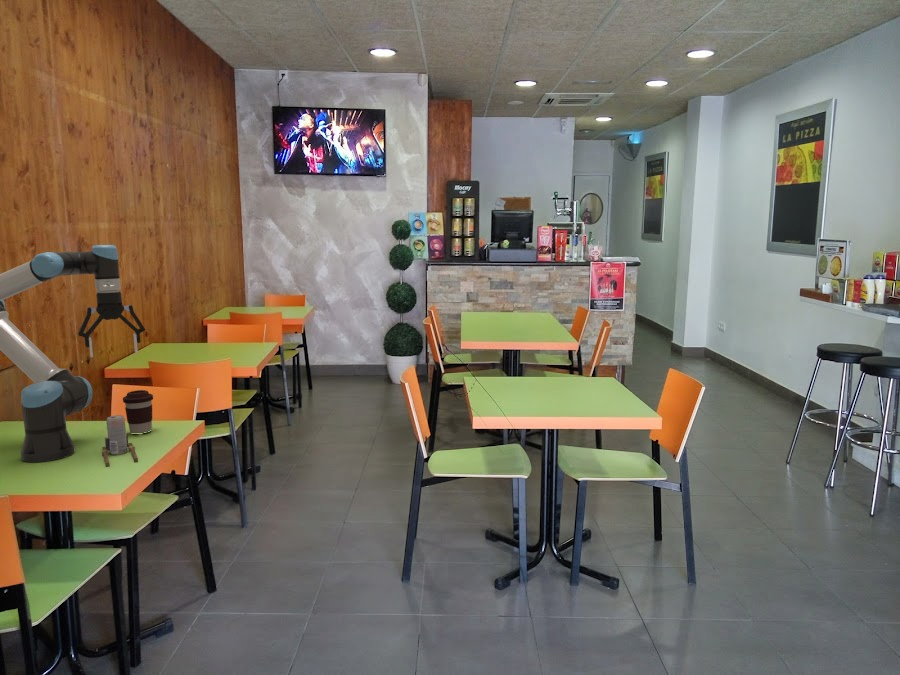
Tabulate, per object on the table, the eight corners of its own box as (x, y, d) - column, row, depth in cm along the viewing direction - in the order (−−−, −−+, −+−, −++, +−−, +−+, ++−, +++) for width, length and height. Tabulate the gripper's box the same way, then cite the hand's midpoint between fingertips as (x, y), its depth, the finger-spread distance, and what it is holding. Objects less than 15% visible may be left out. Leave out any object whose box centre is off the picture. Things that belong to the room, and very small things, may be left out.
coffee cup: (134, 429, 257) (130, 389, 255) (160, 428, 257) (157, 388, 255) (120, 436, 247) (116, 395, 245) (148, 436, 247) (144, 394, 245)
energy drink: (120, 449, 232) (117, 414, 230) (131, 451, 229) (127, 416, 227) (106, 454, 227) (102, 418, 225) (116, 456, 224) (112, 420, 223)
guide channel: (105, 467, 213) (104, 462, 213) (101, 450, 231) (100, 446, 231) (139, 461, 218) (138, 457, 218) (132, 445, 235) (132, 441, 235)
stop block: (106, 450, 231) (105, 439, 230) (105, 449, 232) (104, 437, 232) (128, 447, 234) (127, 435, 233) (128, 445, 236) (127, 434, 235)
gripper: (66, 294, 223) (72, 359, 226) (150, 290, 235) (155, 352, 238) (65, 293, 229) (72, 356, 232) (147, 289, 241) (152, 349, 244)
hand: (114, 354), depth 235 cm, fingers open, 13 cm apart
